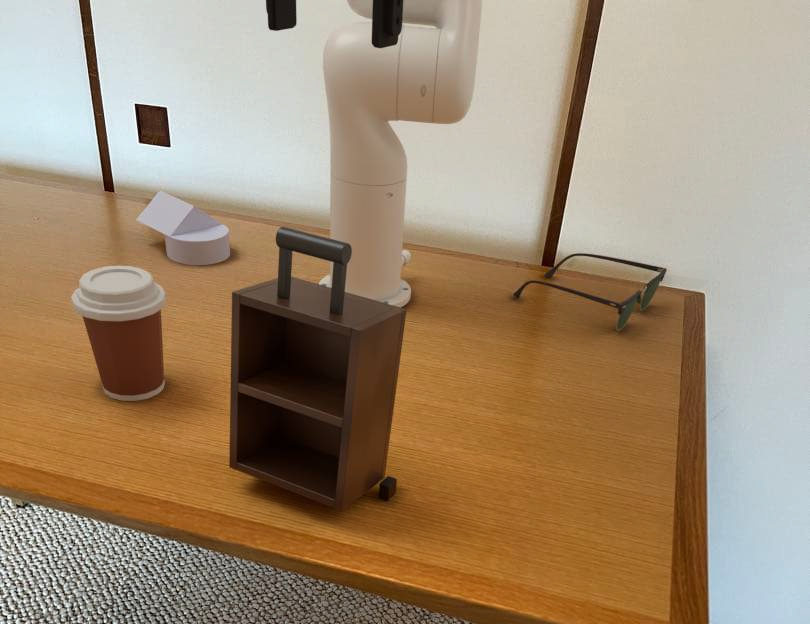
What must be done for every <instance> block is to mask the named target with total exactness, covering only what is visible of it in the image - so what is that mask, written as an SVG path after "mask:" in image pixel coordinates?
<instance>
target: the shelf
mask: <svg viewBox="0 0 810 624" xmlns="http://www.w3.org/2000/svg"><path fill="white" fill-rule="evenodd" d="M275 243H276V246H277V247H278V267H277V278H274V279H273V278H272V279H270V280H266V281H263V282H260V283H256V284H253V285H250V286H246V287H244V288H240V289H237V290H233V291H232V292H231V327H230V328H231V332H230V335H231V336H230V392H229V393H230V396H229V397H230V398H229V399H230V400H229V404H230V405H229V410H230V411H229V455H228V456H229V457H228V459H229V460H228V461H229V462H228V463H229V465H228V466H229V467H228V468H230V469H233V470H235V471H238V472H240V473H243V474H245V475H248V476H251V477H252V478H256V479H259V480H260V481H264V482H266V483H269V484H271V485H274V486H277V487H279V488H282V489H284V490H286V491H289V492H292V493H295V494H298V495H300V496H302V497H305V498H307V499H310V500H313V501H315V502H318V503H321V504H323V505H326V506H328V507H331V508H334V509H336V510H339V511H344V510H345V509H346V508H347V507H349V506H351V504H353V503H354V502H355V501H357V500H358V499H359V498H360V497H362V496H364V495H365V494H366V493H367V492H369V490H371V489H372V488H373V487H375V486H376V485H378V484H380V483H381V482H382V481H383V480H384V479H385V478H386V470H387V463H388V455H389V447H390V441H391V433H392V424H393V419H394V418H393V417H394V409H395V401H396V394H397V387H398V379H399V371H400V364H401V356H402V348H403V340H404V334H405V333H404V332H405V325H406V319H407V310H408V309H407V308H403V307H401V308H400V307H397V306H393V305H390V304H386V303H383V302H379V301H376V300H372V299H369V298H365V297H362V296H358V295H355V294H351V293H347V292H345V283H346V272H347V263H348V262H349V261H350V258H351V255H352V248H351V245H350V244H349V243H345V242H341V241H338V240H334V239H330V237H326V236H322V235H318V234H314V233H310V232H306V231H303V230H299V229H295V228H291V227H287V226H280V227H279V228H277V232H276V234H275ZM293 252H295V253H297V254H302V255H306V256H309V257H313V258H317V259H320V260H323V261H328V262H330V261H331V262H333V275H332V287H331V288H330V287H326V286H323V285H319V283H315V282H312V281H309V280H305V279H301V278H298V277H295V276H292V269H293Z"/></svg>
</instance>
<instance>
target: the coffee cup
mask: <svg viewBox="0 0 810 624" xmlns="http://www.w3.org/2000/svg"><path fill="white" fill-rule="evenodd" d="M78 284H79V287H77V288H76V289H75V290H74V292H73V294H72V295H71V297H70V300H71V304H72V307H73V310H74V311H75V312H76V313H77V314H79V315H81V316H82V320H83V323H84V326H85V329H86V333H87V337H88V340H89V343H90V347H91V350H92V353H93V357H94V361H95V364H96V368H97V371H98V374H99V378H100V382H101V386H102V389H103V392H104V394H105V395H107V396H108V397H110V398H111V399H114V400H118V401H122V402H123V401H125V402H136V401H143V400H147V399H150V398H152V397H156V396H157V395H159V394H160V393H161V392H162V391H163V390H164V387H165V386H166V381H165V367H164V366H165V365H164V345H163V323H162V309H164V308H165V305H166V303H167V293H166V292H165V290H164V289H163V287H162V286H161V285H159V284H158V283H156V281H154V277H153V276H152V274H151V273H150V272H149V271H147V270H145V269H143V268H141V267H136V266H131V265H109V266H102V267H98V268H95V269H91V270H89V271H87V272H85V273H84V274H83V275H82V276H81V277H80V279H79V281H78Z"/></svg>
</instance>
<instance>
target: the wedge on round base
mask: <svg viewBox="0 0 810 624" xmlns="http://www.w3.org/2000/svg"><path fill="white" fill-rule="evenodd" d="M135 221H137V222H139V223H141V224H143V225H145V226H147V227H149V228H151V229H153V230H155V231H157V232H159V233H161V234H163V235H164V242H165V249H166V256H167V258H168V259H169V260H171V261H173V262H175V263H178V264H181V265H188V266H210V265H214V264H215V265H216V264H218V263H221V262H224V261H226V260H227V259H229V258H230V256H231V244H230V229H229V227H228V226H226V225H225V224H223V223H221V222H220V221H219V220H217V219H215V218H214V217H212V216H211V215H209V214H208V213H206V212H204V211H203V210H201V209H199V208H198V207H196V206H195V205H193V204H191V203H188V202H186V201H184V200H182V199H180V198H177V197H175V196H173V195H170V194H169V193H167V192H164V191H162V190H159V191H158V192H157V193H156V195H155V196H154V197H153V198H152V200H150V202H149V203H148V205H147V206H146V207H145V208H144V209H143V210H142V212H141V213H140V214H139V215H138V217H137V218H136V219H135Z"/></svg>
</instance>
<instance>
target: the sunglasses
mask: <svg viewBox="0 0 810 624" xmlns="http://www.w3.org/2000/svg"><path fill="white" fill-rule="evenodd" d="M574 257H589V258H594V259H599V260H605V261H610V262H614V263H619V264H623V265H627V266H632V267H636V268H640V269H644V270H647V271H653V272H657V273H658V275H656V276H655V277H653V278H652V279H651V280H649V281H648V282H647V283H646V284H645V285H644V287H643V289H641V290H640V289H639V290H637V291H636V292H635V293H634V294H633V295H631V296H630V297H629V298H627V299H626V300H624V301H622V302H616V301H612V300H609V299H606V298H602V297H600V296H595V295H592V294H589V293H585V292H582V291H580V290H575V289H572V288H569V287H566V286H561V285H558V284H554V283H550V282H546V281H541V280H535V279H531V280H528V281H526V282H524V283H523V284H522V285H521V286H520V287H519V288H518V289H517V290H515V292H514V293H513V295H512V296H513V297H514V298H516V299H520V297H521V295H522V293H523V291H524V289H525V288H526V287H527V286H528V285H530V284H537V285H543V286H547V287H550V288H553V289H556V290H560V291H563V292H566V293H568V294H569V293H570V294H573V295H576V296H578V297H582V298H584V299H588V300H589V301H590V300H591V301H593V302H597V303H599V304H602V305H606V306H608V307H610V308H615V309H617V314H618V317H617V320H616V323H615V330H616V331H621V330H622V329H623V328H625V326H626V324H627V322H628V320H629V318H631V317H630V316H631V315H632V312H633V311H634V309H635V307H636V304H638V310H640V311H641V312H642V311H645V309H647V307H648V306H649V305H650V303H651V301H652V299H653V298H654V295H655V294H656V292H657V290H658V288H659V285H660V283H662V282H663V280H664V278H665V275H666V273H667V271H668V269H667V268H666V267H662V266H657V265H652V264H647V263H642V262H638V261H632V260H628V259H622V258H617V257H612V256H606V255H601V254H595V253H594V254H593V253H583V252H582V253H581V252H580V253H579V252H577V253H572V254H569V255H567V256H565V257H564V258H563V259H562V260H560V261H559V262H558V263H556V265H554V266H553V267H552V268H551V269H549V270H548V271H546V273H545V274H544V277H545V278H546V279H551V278H552V277H553V276H554V275H555V273H556V272H557V270H558V269H559V268H560V266H562V264H564V263H565V262H566V261H568V260H569V259H571V258H574Z"/></svg>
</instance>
